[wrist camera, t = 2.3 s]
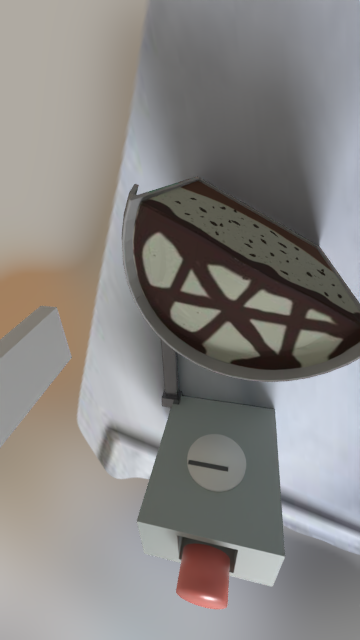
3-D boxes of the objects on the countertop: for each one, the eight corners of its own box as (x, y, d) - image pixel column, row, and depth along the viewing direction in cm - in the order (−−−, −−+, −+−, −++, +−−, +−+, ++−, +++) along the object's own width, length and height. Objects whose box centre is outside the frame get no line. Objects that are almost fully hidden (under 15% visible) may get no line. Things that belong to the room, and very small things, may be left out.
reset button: (231, 550, 20) (228, 597, 18) (228, 569, 22) (225, 613, 20) (182, 539, 21) (175, 582, 19) (183, 558, 22) (177, 599, 20)
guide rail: (176, 242, 21) (172, 247, 21) (181, 399, 31) (179, 408, 30) (152, 241, 22) (148, 246, 21) (165, 397, 31) (162, 406, 30)
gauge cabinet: (275, 405, 28) (286, 553, 18) (267, 444, 31) (272, 586, 22) (174, 391, 30) (136, 518, 20) (177, 429, 33) (144, 553, 24)
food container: (143, 246, 22) (78, 313, 14) (177, 164, 19) (115, 192, 11) (281, 321, 23) (295, 425, 15) (338, 257, 20) (397, 347, 11)
